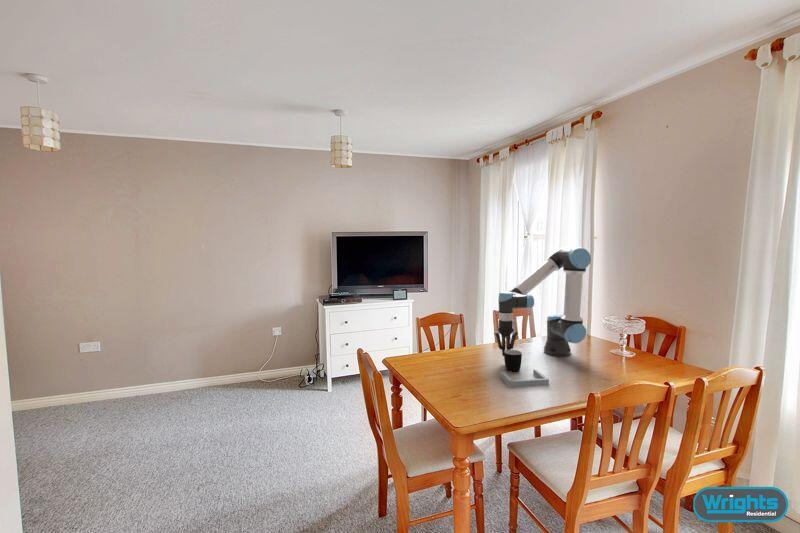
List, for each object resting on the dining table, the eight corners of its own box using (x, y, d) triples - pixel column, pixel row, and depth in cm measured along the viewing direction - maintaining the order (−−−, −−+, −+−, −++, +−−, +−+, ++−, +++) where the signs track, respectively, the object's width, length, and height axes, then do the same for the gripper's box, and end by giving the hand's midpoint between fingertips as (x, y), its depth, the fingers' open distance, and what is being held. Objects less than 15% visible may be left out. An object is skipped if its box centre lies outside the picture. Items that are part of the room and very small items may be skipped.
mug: (525, 372, 200) (525, 353, 199) (510, 374, 197) (510, 355, 196) (512, 365, 211) (512, 347, 210) (497, 367, 209) (497, 349, 208)
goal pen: (500, 377, 194) (500, 371, 194) (536, 374, 196) (536, 369, 195) (510, 387, 180) (510, 381, 180) (548, 385, 182) (548, 379, 181)
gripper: (496, 321, 206) (496, 364, 208) (519, 320, 207) (519, 362, 209) (492, 318, 213) (492, 359, 215) (514, 317, 214) (514, 358, 216)
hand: (505, 361), depth 212 cm, fingers closed
